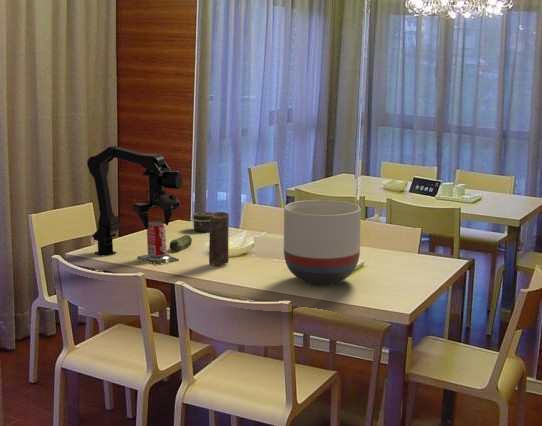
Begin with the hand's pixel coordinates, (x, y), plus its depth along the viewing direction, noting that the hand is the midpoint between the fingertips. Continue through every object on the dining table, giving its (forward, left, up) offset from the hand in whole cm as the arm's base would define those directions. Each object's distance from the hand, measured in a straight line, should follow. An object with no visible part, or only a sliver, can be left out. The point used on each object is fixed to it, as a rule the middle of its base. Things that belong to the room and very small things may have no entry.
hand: (156, 227), depth 319 cm
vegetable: (-8, +17, -13) cm, 23 cm away
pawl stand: (0, 0, -13) cm, 13 cm away
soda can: (0, 0, -12) cm, 12 cm away
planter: (+63, +27, -13) cm, 70 cm away
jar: (-27, +43, -13) cm, 52 cm away
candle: (+22, +13, -13) cm, 29 cm away
